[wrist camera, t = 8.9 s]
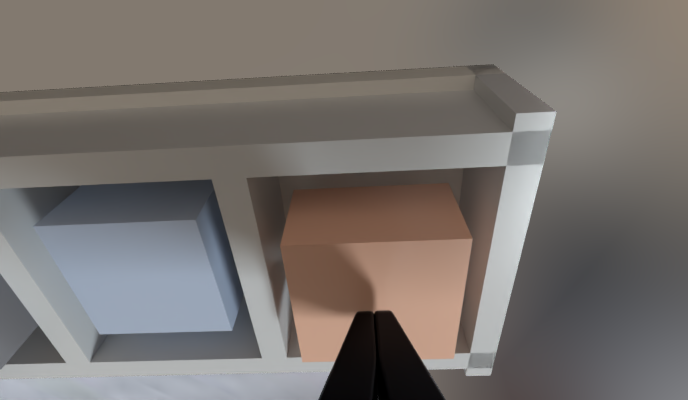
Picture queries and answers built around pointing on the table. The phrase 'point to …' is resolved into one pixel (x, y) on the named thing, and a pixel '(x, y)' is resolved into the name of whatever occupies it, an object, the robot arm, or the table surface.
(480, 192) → the keypad
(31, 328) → the key charcoal
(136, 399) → the table surface
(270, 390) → the table surface
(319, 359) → the key terracotta
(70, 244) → the key blue
